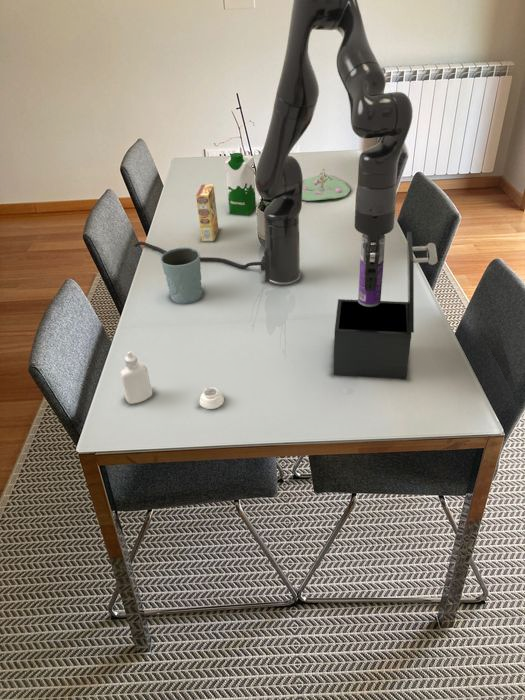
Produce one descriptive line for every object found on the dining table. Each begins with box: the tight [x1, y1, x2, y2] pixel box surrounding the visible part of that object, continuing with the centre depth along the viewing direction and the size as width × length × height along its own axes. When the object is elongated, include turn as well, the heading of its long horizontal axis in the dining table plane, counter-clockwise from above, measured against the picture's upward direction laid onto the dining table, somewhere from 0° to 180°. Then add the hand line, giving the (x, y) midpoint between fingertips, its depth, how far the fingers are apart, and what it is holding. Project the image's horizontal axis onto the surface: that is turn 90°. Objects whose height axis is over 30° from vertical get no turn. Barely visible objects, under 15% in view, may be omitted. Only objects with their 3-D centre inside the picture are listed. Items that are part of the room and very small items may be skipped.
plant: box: [302, 168, 351, 202], centre depth 216 cm, size 25×21×9 cm
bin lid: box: [406, 231, 438, 334], centre depth 122 cm, size 16×13×5 cm
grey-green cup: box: [160, 246, 203, 305], centre depth 159 cm, size 10×10×12 cm
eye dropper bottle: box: [119, 351, 153, 405], centre depth 125 cm, size 4×6×12 cm
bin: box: [332, 298, 412, 380], centre depth 132 cm, size 16×13×12 cm
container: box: [357, 234, 386, 307], centre depth 122 cm, size 5×5×15 cm
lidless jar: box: [199, 386, 225, 410], centre depth 125 cm, size 5×3×5 cm
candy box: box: [195, 184, 220, 242], centre depth 187 cm, size 9×4×15 cm, turn 174°
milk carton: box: [224, 152, 257, 217], centre depth 201 cm, size 9×9×20 cm
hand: (370, 283), depth 124 cm, fingers closed on container, 4 cm apart
